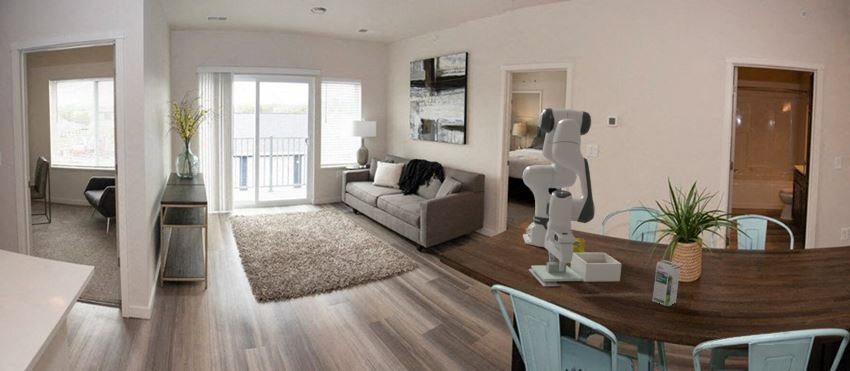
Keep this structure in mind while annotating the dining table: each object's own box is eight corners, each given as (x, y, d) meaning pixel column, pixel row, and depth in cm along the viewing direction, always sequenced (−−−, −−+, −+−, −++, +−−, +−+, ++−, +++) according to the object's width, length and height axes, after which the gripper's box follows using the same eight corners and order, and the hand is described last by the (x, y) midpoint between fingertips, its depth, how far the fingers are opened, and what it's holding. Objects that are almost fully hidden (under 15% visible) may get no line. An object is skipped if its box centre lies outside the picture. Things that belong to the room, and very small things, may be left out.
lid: (531, 270, 196) (531, 257, 195) (566, 269, 198) (567, 257, 197) (543, 283, 181) (544, 269, 180) (581, 283, 183) (582, 269, 182)
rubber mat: (528, 269, 198) (528, 269, 197) (565, 269, 199) (566, 268, 199) (543, 286, 180) (543, 285, 180) (584, 285, 182) (584, 284, 182)
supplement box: (583, 266, 203) (585, 242, 202) (568, 265, 205) (570, 240, 203) (581, 262, 209) (583, 238, 207) (567, 261, 210) (569, 237, 208)
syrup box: (651, 301, 169) (656, 261, 166) (660, 297, 172) (665, 259, 170) (667, 307, 164) (672, 266, 162) (676, 303, 168) (681, 263, 165)
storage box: (570, 271, 197) (571, 252, 196) (602, 271, 199) (604, 252, 197) (584, 283, 184) (586, 263, 182) (619, 283, 185) (621, 263, 184)
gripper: (541, 225, 196) (539, 258, 199) (560, 239, 176) (558, 275, 179) (556, 225, 197) (554, 257, 199) (577, 239, 177) (574, 275, 179)
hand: (556, 266), depth 189 cm, fingers open, 8 cm apart
